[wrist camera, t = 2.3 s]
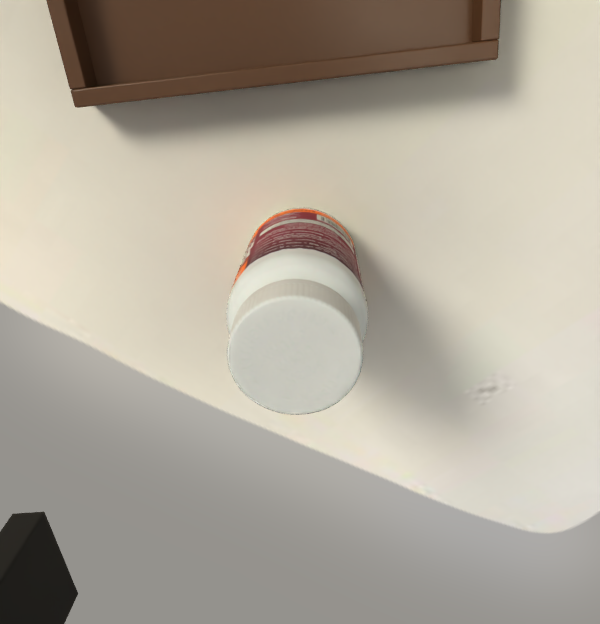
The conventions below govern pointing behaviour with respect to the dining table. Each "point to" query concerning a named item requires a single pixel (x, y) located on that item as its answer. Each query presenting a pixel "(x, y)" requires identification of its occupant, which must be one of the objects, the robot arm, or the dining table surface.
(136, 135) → the dining table surface
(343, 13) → the tray
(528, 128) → the dining table surface
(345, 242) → the pill bottle
